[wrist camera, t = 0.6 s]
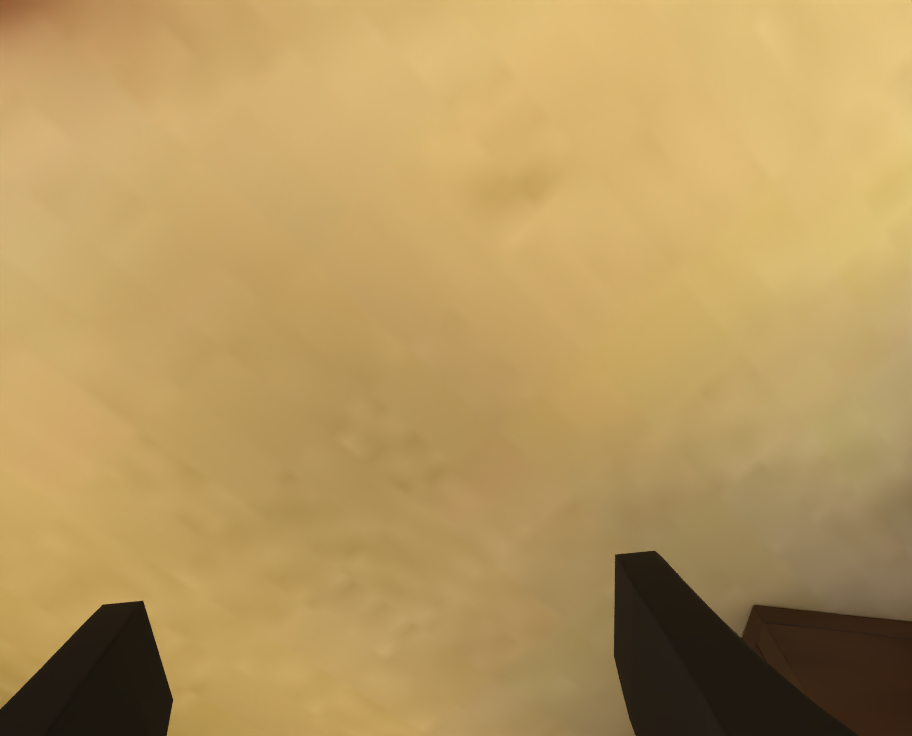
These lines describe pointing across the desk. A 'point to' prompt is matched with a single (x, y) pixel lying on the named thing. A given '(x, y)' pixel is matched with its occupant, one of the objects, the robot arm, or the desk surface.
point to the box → (841, 664)
